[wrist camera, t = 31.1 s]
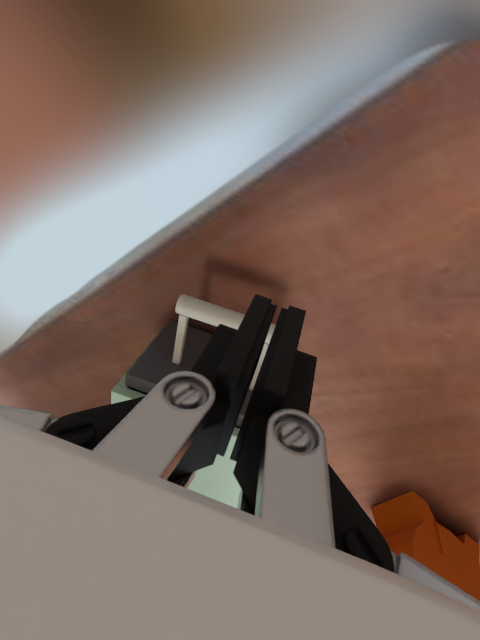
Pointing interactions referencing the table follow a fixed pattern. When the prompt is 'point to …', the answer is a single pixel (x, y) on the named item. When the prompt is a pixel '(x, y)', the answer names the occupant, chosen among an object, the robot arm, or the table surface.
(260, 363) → the drawer
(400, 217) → the table surface
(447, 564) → the alarm clock
